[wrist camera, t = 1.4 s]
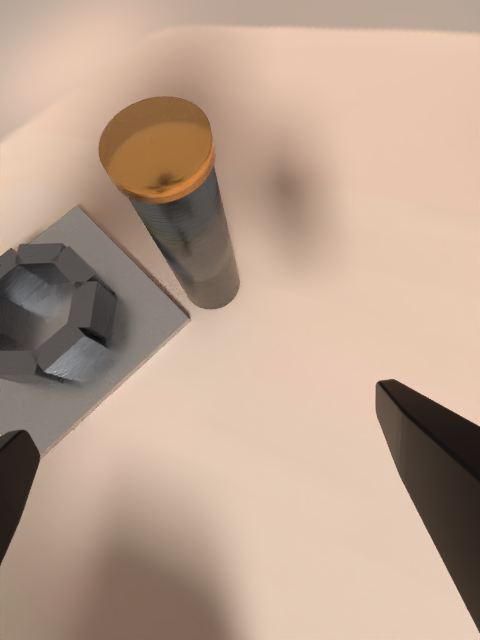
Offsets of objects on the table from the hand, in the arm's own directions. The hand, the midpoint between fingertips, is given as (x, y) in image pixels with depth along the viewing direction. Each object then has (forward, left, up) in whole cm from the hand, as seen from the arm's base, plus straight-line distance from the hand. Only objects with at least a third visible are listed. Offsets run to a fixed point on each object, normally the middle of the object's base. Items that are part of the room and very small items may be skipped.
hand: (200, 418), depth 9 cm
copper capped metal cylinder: (+6, +9, -14) cm, 18 cm away
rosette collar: (-4, +15, -14) cm, 21 cm away
